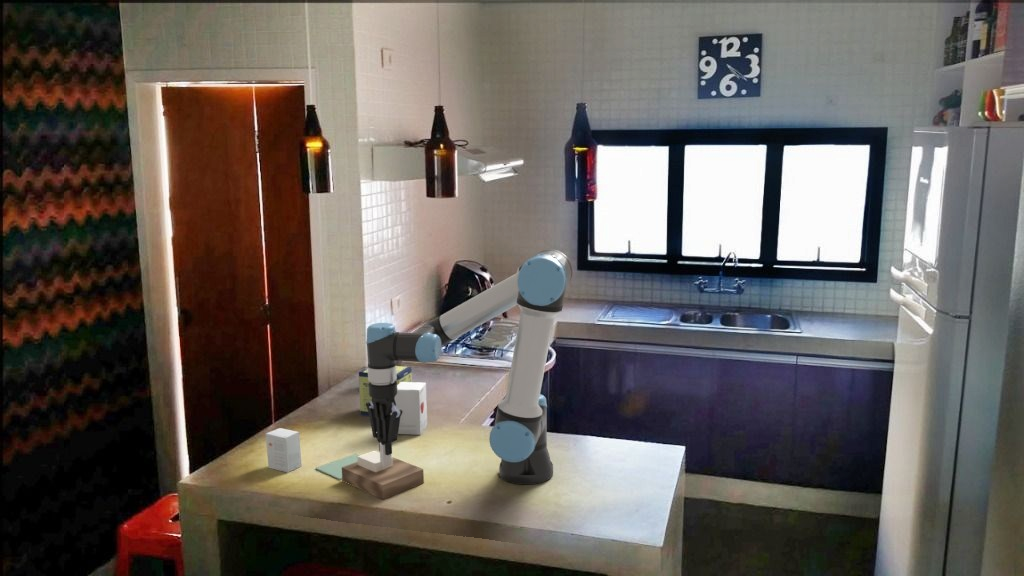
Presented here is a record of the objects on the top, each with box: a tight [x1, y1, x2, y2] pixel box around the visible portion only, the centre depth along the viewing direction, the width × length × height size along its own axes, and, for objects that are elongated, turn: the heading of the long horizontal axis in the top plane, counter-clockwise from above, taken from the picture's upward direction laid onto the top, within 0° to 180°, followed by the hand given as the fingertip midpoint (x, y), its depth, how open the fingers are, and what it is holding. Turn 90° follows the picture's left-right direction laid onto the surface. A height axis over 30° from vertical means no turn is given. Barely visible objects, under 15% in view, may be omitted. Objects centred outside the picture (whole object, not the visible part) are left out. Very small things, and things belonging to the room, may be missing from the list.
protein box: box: [358, 365, 413, 417], centre depth 282 cm, size 10×16×16 cm
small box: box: [265, 427, 302, 473], centre depth 236 cm, size 8×6×10 cm
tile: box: [357, 450, 394, 472], centre depth 227 cm, size 8×6×2 cm
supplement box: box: [395, 381, 428, 436], centre depth 265 cm, size 9×9×15 cm
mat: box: [315, 453, 360, 481], centre depth 236 cm, size 12×14×1 cm
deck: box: [341, 456, 425, 500], centre depth 225 cm, size 18×14×4 cm
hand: (386, 464), depth 223 cm, fingers closed
